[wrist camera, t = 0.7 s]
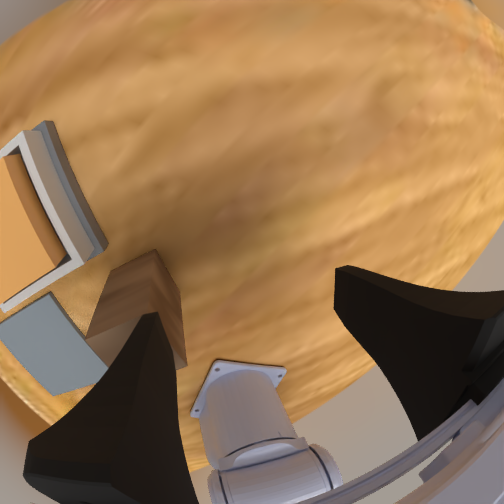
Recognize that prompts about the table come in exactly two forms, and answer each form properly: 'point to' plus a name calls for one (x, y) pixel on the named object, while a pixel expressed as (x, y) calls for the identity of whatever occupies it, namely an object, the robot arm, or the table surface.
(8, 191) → the button
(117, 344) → the brown wooden beam
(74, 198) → the switch panel
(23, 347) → the rubber mat
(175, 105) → the table surface
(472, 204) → the table surface
